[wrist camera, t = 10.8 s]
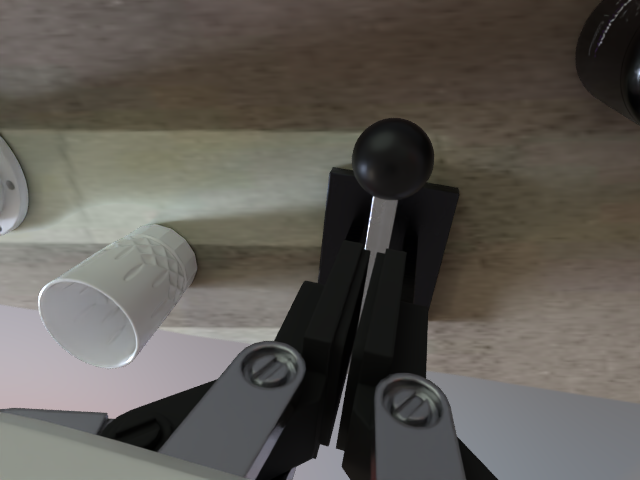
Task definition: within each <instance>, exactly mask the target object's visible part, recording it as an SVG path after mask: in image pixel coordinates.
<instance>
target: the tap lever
mask: <svg viewBox="0 0 640 480" xmlns="http://www.w3.org/2000/svg"><path fill="white" fill-rule="evenodd" d="M433 165H434V151H433V146H432V143H431V141H430V139H429V137H428V136H427V134H426V133H425V132H424V131H423V130H422V129H421V128H420V127H419V126H418V125H416V124H415V123H413V122H411V121H408V120H405V119H401V118H388V119H383V120H380V121H378V122H376V123H374V124H372V125H371V126H369V127H368V128H367V129H366V130H365V131H364V132H363V133H362V134H361V135H360V137H359V138H358V140H357V142H356V144H355V146H354V150H353V154H352V167H353V172H354V174H355V177H356V179H357V181H358V183H359V184H360V185H361V187H362V188H363V189H364V190H365V191H367V192H368V193H369V194H371V195H372V196H373V199H372V205H371V212H370V218H369V224H368V231H367V237H366V244H365V250H370V251H371V252H370V259H369V265H368V270H367V276H366V282H365V288H364V294H363V300H362V306H361V311H360V317H361V314H362V310H363V306H364V302H365V298H366V294H367V290H368V286H369V282H370V278H371V274H372V270H373V266H374V262H375V258H376V254H377V252H380V253H385V251H386V248H388V249H389V245H390V240H391V235H392V230H393V224H394V219H395V214H396V209H397V204H398V200H401V199H405V198H407V197H410V196H412V195H413V194H415V193H416V192H418V191H419V190H420V189H421V188H422V187H423V186H424V185H425V184H426V182H427V181H428V179H429V177H430V175H431V173H432V170H433ZM360 317H359V321H360ZM358 325H359V323H358ZM351 356H352V355H351ZM350 361H351V359H350ZM349 367H350V363H349ZM349 367H348V371H347V373H349Z"/></svg>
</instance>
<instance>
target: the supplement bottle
mask: <svg viewBox="0 0 640 480" xmlns="http://www.w3.org/2000/svg"><path fill="white" fill-rule="evenodd" d="M575 60H576V69H577V73H578V76H579V78H580V80H581V82H582V84H583V86H584V87H585V88H586V89H587V91H588V92H589V93H590V94H591V95H593V96H594V97H595V98H597V99H598V100H599V101H601V102H602V103H604V104H606V105H607V106H609V107H610V108H612V109H614V110H615V111H617V112H618V113H620V114H622V115H623V116H625V117H626V118H628V119H630V120H631V121H633V122H634V123H636V124H638V125H639V126H640V0H603V1H602V2H601V3H600V4H599V5H598V6H597V7H596V8H595V10H594V11H593V12H592V13H591V15H590V16H589V18H588V19H587V21H586V23H585V25H584V27H583V29H582V31H581V33H580V36H579V39H578V43H577V47H576V58H575Z"/></svg>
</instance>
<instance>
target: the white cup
mask: <svg viewBox="0 0 640 480" xmlns="http://www.w3.org/2000/svg"><path fill="white" fill-rule="evenodd" d="M196 272H197V263H196V257H195V253H194V252H193V250H192V249H191V247H190V245H189V244H188V242H187V241H186V240H185V239H184V238H183V237H182V236H180V235H179V234H178V233H176V232H175V231H174V230H172V229H170V228H167V227H164V226H161V225H157V224H152V225H145V226H140V227H139V228H137V229H136V230H134V231H133V232H131V233H130V234H128V235H127V236H125V237H124V238H121V239H119V240H117V241H115V242H113V243H111V244H110V245H108V246H107V247H105V248H104V249H101V250H100V251H98V252H96V253H95V254H93V255H92V256H90V257H89V258H87V259H86V260H84V261H83V262H81V263H79V264H78V265H76V266H75V267H73V268H72V269H70V270H68V271H67V272H65V273H64V274H62V275H61V276H59V277H57V278H56V279H54V280H53V281H51V282H50V283H48V284H47V285H46V286H45V287H44V288H43V289H42V291H41V293H40V295H39V300H38V308H39V313H40V317H41V319H42V322H43V324H44V326H45V327H46V329H47V331H48V332H49V334H50V335H51V336H52V337H53V339H54V340H55V341H56V342H57V343H58V344H59V345H60V346H61V347H62V348H63V349H64V350H66V351H67V352H68V353H70V354H71V355H73V356H74V357H76V358H77V359H79V360H81V361H83V362H85V363H88V364H90V365H93V366H96V367H101V368H109V369H111V368H112V369H113V368H120V367H124V366H126V365H128V364H129V363H131V362H132V361H133V360H134V359H135V358H136V356H137V355H138V354H139V352H140V351H141V350H142V348H143V347H144V346H145V345H146V343H147V342H148V340H149V339H150V338H151V337H152V336H153V334H154V333H155V332H156V331H157V329H158V328H159V327H160V325H161V324H162V323H163V322H164V320H165V319H166V318H167V316H168V315H169V314H170V312H171V311H172V309H173V308H174V307H175V305H176V304H177V303H178V301H179V300H180V298H181V296H182V295H183V293H184V292H185V291H186V289H187V288H188V287H189V286H190V284H191V283H192V282H193V280H194V277H195V274H196Z"/></svg>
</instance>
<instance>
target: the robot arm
mask: <svg viewBox="0 0 640 480" xmlns="http://www.w3.org/2000/svg"><path fill="white" fill-rule="evenodd" d="M28 204H29V202H28V189H27V184H26V179H25V177H24V174H23V171H22V169H21V166H20V164H19V163H18V161H17V159H16V157H15V155H14V153H13V152H12V151H11V149H10V148H9V146H8V145H7V143H6V142H5V141H4V140H3V138H2V137H1V136H0V236H1V235H4V234H6V233H8V232H10V231H12V230H13V229H15V228H17V227H18V226H19V225H20V224H21V223H22V222H23V220H24V218H25V216H26V214H27V209H28ZM363 248H364V244H362V243H357V242H352V241H347V240H343V242H342V245H341V247H340V250H339V252H338V254H337V257H336V259H335V262H334V264H333V267H332V269H331V271H330V274H329V276H328V279H327V281H326V284H325V285H324V284H319V283H314V282H310V281H304V282H303V284H302V286H301V288H300V290H299V292H298V294H297V296H296V298H295V300H294V302H293V304H292V306H291V308H290V310H289V312H288V314H287V316H286V318H285V320H284V322H283V324H282V326H281V328H280V330H279V332H278V334H277V336H276V338H275V340H274V341H263V342H259V343H254V344H252V345H250V346H248V347H246V348H245V349H244V350H243V351H242V352H241V353H239V354H238V356H237V357H236V358H235V359H234V360H233V362H232V363H231V364H230V365H229V366H228V367H227V369H226V370H225V371H224V372H223V373H222V375H221V376H220V377H219V378H218V379H217V380H214V381H211V382H208V383H205V384H203V385H200V386H197V387H194V388H191V389H189V390H186V391H183V392H180V393H177V394H175V395H172V396H169V397H166V398H163V399H161V400H158V401H155V402H152V403H150V404H147V405H144V406H141V407H139V408H136V409H133V410H130V411H128V412H126V413H124V414H122V415H120V416H118V417H117V418H116V419H108V415H107V413H98V412H80V411H62V410H43V409H25V408H9V409H0V480H292V479H293V476H294V473H295V469H296V466H298V465H300V464H302V463H304V462H306V461H308V460H310V459H312V458H314V459H316V457H317V453H318V449H319V445H320V444H322V445H325V446H329V443H330V439H331V435H332V431H333V427H334V423H335V419H336V415H337V411H338V407H339V403H340V399H341V395H342V391H343V387H344V383H345V379H346V375H347V371H348V367H349V363H350V367H349V373H348V380H347V385H346V391H345V397H344V403H343V409H342V415H341V421H340V427H339V433H338V439H337V445H336V449H340V450H343V451H344V457H343V462H342V468H343V469H344V471H345V472H346V474H347V475H348V477H349V478H350V480H498V479H497V478H496V477H495V476H494V475H493V474H492V473H491V472H490V471H489V470H488V469H487V467H486V466H485V465H484V464H483V463H482V462H481V461H480V460H479V459H478V458H477V457H476V456H475V455H474V454H473V453H472V452H471V451H470V450H469V449H468V448H467V446H465V444H464V443H463V442H462V441H461V440H460V439H459V438H458V437H457V435H456V430H455V426H454V421H453V417H452V412H451V407H450V404H449V402H448V399H447V397H446V396H445V394H444V393H443V392H442V391H441V389H440V388H439V387H438V386H436V385H435V384H434V383H432V382H431V381H430V380H427V379H426V360H427V330H428V307H427V306H422V305H417V304H413V303H408V302H403V301H400V300H401V293H402V285H403V277H404V269H405V262H406V254H407V252H403V251H398V250H393V249H388V248H386V251H385V253H380V252H377V254H376V258H375V262H374V266H373V270H372V274H371V278H370V282H369V286H368V290H367V294H366V298H365V302H364V306H363V310H362V314H361V317H360V311H361V306H362V300H363V294H364V288H365V282H366V276H367V270H368V265H369V259H370V252H371V251H370V250H365V249H363ZM359 317H360V321H359ZM358 323H359V325H358ZM351 355H352V356H351ZM350 359H351V361H350Z"/></svg>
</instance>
